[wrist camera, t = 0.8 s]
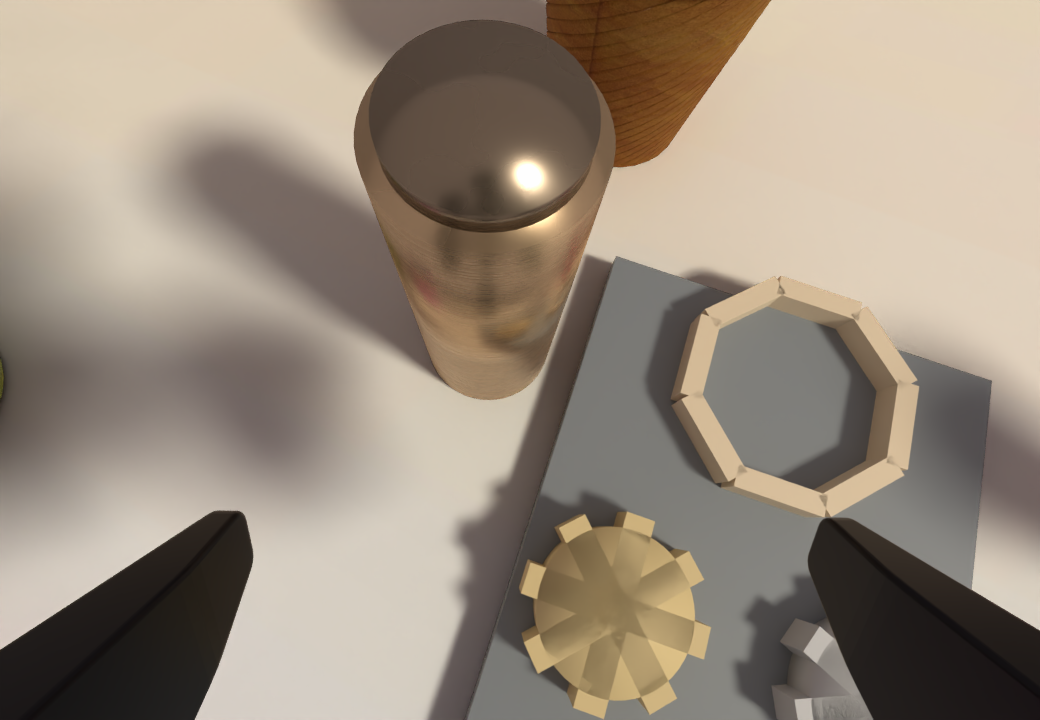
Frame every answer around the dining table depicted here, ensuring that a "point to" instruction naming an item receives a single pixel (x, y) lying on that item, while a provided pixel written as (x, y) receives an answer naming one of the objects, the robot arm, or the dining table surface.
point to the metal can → (485, 191)
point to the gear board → (724, 504)
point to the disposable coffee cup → (651, 59)
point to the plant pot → (1, 379)
